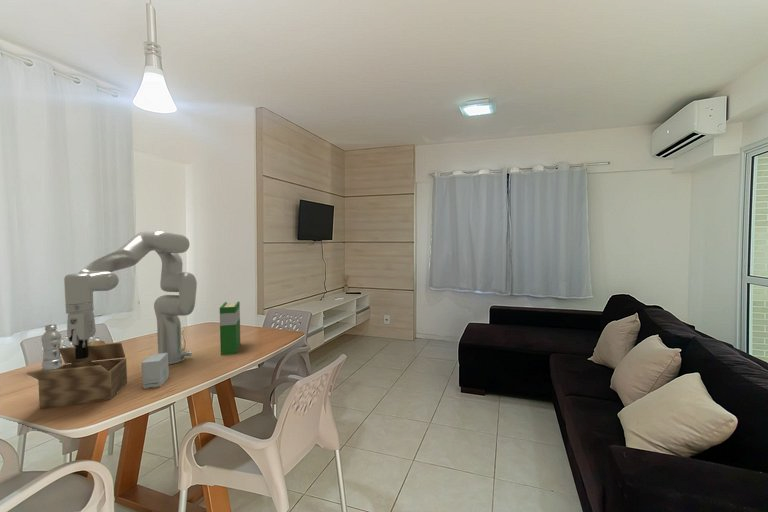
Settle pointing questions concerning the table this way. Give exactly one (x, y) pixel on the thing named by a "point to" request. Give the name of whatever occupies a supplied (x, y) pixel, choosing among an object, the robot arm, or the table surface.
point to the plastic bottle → (51, 348)
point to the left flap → (68, 372)
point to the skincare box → (155, 370)
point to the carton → (83, 385)
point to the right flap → (94, 353)
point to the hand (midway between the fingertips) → (82, 357)
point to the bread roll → (97, 342)
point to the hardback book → (230, 328)
